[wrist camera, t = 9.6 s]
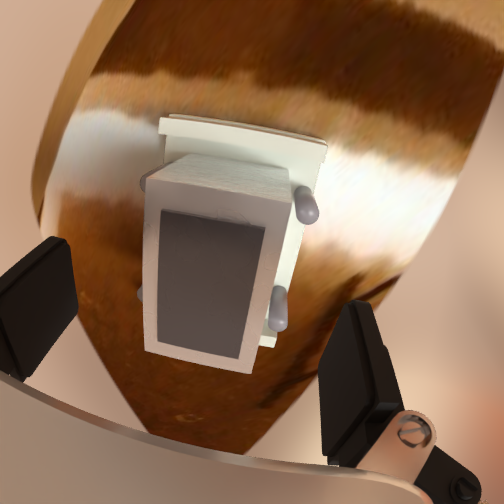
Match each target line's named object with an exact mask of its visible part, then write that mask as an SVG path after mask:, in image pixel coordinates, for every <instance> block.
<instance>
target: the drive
mask: <svg viewBox="0 0 504 504" xmlns="http://www.w3.org/2000/svg"><path fill="white" fill-rule="evenodd" d="M291 208H292V195H291V186H290V178H289V170H288V169H284V168H279V167H274V166H269V165H263V164H258V163H253V162H247V161H241V160H236V159H230V158H224V157H217V156H211V155H204V154H198V153H190V154H188V155H186V156H184V157H183V158H181V159H179V160H177V161H175V162H173V163H172V164H170V165H168V166H166V167H164V168H163V169H161V170H159V171H157V172H156V173H154V174H152V175H150V176H149V177H147V178H146V187H145V204H144V226H143V321H144V343H145V351H149V352H153V353H156V354H160V355H164V356H168V357H172V358H176V359H180V360H185V361H189V362H193V363H198V364H202V365H207V366H212V367H216V368H221V369H226V370H232V371H237V372H242V373H248V374H251V372H252V368H253V365H254V361H255V357H256V353H257V349H258V345H259V341H260V337H261V333H262V329H263V325H264V321H265V317H266V313H267V309H268V305H269V301H270V297H271V293H272V289H273V285H274V281H275V276H276V272H277V268H278V264H279V260H280V255H281V251H282V247H283V243H284V238H285V234H286V230H287V225H288V221H289V216H290V212H291Z"/></svg>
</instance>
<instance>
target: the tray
mask: <svg viewBox="0 0 504 504" xmlns="http://www.w3.org/2000/svg"><path fill="white" fill-rule="evenodd" d="M158 134H164V135H167V136H166V144H165V152H164V161H163V165H161V166H160V167H158V168H156V169H154V170H152V171H150V172H149V173H147V174H145V175H143V177H142V178H141V180H140V186H141V189H142V191H143V192H144V193H145V187H146V178H147V177H149V176H150V175H152V174H154V173H156V172H157V171H159V170H161V169H163V168H164V167H166V166H168V165H170V164H172V163H173V162H175V161H177V160H179V159H181V158H183V157H184V156H186V155H188V154H190V153H198V154H204V155H211V156H217V157H224V158H230V159H236V160H241V161H247V162H253V163H258V164H263V165H269V166H274V167H279V168H284V169H288V170H289V178H290V186H291V195H292V208H291V212H290V216H289V221H288V225H287V230H286V234H285V238H284V243H283V247H282V251H281V255H280V260H279V264H278V268H277V272H276V276H275V281H274V285H273V289H272V293H271V297H270V301H269V305H268V309H267V313H266V317H265V321H264V325H263V329H262V333H261V337H260V341H259V345H262V346H267V347H273V348H274V346H275V342H276V339H277V332H279V331H283V330H284V329H285V328H286V327H287V292H288V289H289V285H290V281H291V278H292V274H293V271H294V267H295V263H296V259H297V256H298V252H299V248H300V244H301V241H302V237H303V233H304V229H305V225H310V224H313V223H314V222H316V221H317V219H318V217H319V210H318V207H317V204H316V201H315V198H314V195H313V194H314V189H315V185H316V181H317V177H318V173H319V169H320V164H321V162H322V163H324V161H325V157H326V153H327V149H328V146H327V145H326V144H325V143H326V141H325V140H323V139H320V138H315V137H311V136H307V135H302V134H298V133H293V132H289V131H284V130H279V129H274V128H269V127H264V126H258V125H253V124H247V123H241V122H235V121H229V120H222V119H215V118H208V117H201V116H193V115H184V114H169V116H167V117H160V121H159V129H158ZM137 296H138V298H139V299H140V300H141V301H142V302H143V284H142V286H141V287H140V288H139V290H138V292H137Z"/></svg>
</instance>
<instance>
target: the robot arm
mask: <svg viewBox="0 0 504 504" xmlns="http://www.w3.org/2000/svg"><path fill="white" fill-rule="evenodd" d="M77 312H78V300H77V294H76V288H75V281H74V274H73V267H72V259H71V250H70V246H69V245H68V244H67V241H66V240H65V239H63V238H59V237H55V236H50V237H48V238H47V239H46V240H45V241H43V242H42V243H41V244H40V245H38V246H37V247H36V248H34V249H33V250H32V251H31V252H30V253H28V254H27V255H26V256H25V257H23V258H22V259H21V260H20V261H18V262H17V263H16V264H15V265H14V266H13V267H11V268H10V269H9V270H8V271H7V272H6V273H4V274H3V275H2V276H1V277H0V504H489V503H488V502H487V501H486V500H484V501H483V502H482V501H481V500H480V498H481V485H480V482H479V480H478V478H477V477H476V476H475V475H474V474H473V473H472V472H471V471H469V470H468V469H466V468H465V467H464V466H462V465H461V464H460V463H458V462H457V461H455V460H454V459H453V458H451V457H450V456H449V455H447V454H446V453H445V452H443V451H442V450H441V449H439V448H438V447H437V446H436V445H435V442H436V430H435V427H434V425H433V424H432V422H431V421H430V420H429V419H428V418H427V417H426V416H425V415H424V414H422V413H419V412H417V411H413V410H405V409H404V405H403V401H402V397H401V394H400V390H399V387H398V383H397V379H396V376H395V372H394V369H393V365H392V362H391V359H390V356H389V352H388V349H387V348H386V346H385V345H383V342H382V338H381V335H380V332H379V329H378V326H377V323H376V319H375V316H374V313H373V310H372V307H371V305H370V303H369V302H363V301H358V300H352V301H351V302H350V304H349V303H345V304H344V306H343V309H342V311H341V313H340V316H339V318H338V320H337V323H336V325H335V328H334V330H333V332H332V334H331V337H330V339H329V341H328V344H327V346H326V348H325V350H324V352H323V355H322V357H321V359H320V361H319V365H318V381H319V397H320V415H321V436H322V454H323V456H327V462H328V465H339V467H337V466H326V465H316V464H304V463H294V462H285V461H277V460H270V459H263V458H256V457H250V456H243V455H237V454H232V453H226V452H221V451H216V450H211V449H207V448H202V447H198V446H193V445H189V444H185V443H181V442H177V441H173V440H169V439H166V438H162V437H159V436H155V435H152V434H148V433H145V432H142V431H139V430H135V429H132V428H129V427H126V426H123V425H120V424H117V423H115V422H112V421H109V420H106V419H104V418H101V417H98V416H96V415H93V414H90V413H88V412H85V411H83V410H80V409H78V408H76V407H73V406H71V405H69V404H66V403H64V402H62V401H60V400H57V399H55V398H53V397H51V396H48V395H46V394H44V393H42V392H40V391H38V390H36V389H34V388H32V387H30V386H28V385H26V384H24V383H23V382H24V381H25V379H26V378H27V377H30V376H31V375H32V374H33V372H34V371H35V370H36V368H37V367H38V365H39V364H40V363H41V361H42V360H43V358H44V357H45V356H46V354H47V353H48V351H49V350H50V348H51V347H52V346H53V345H54V343H55V342H56V341H57V339H58V338H59V337H60V335H61V334H62V333H63V331H64V330H65V329H66V327H67V326H68V325H69V323H70V322H71V321H72V320H73V318H74V317H75V316H76V314H77ZM9 374H10V376H9Z"/></svg>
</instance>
